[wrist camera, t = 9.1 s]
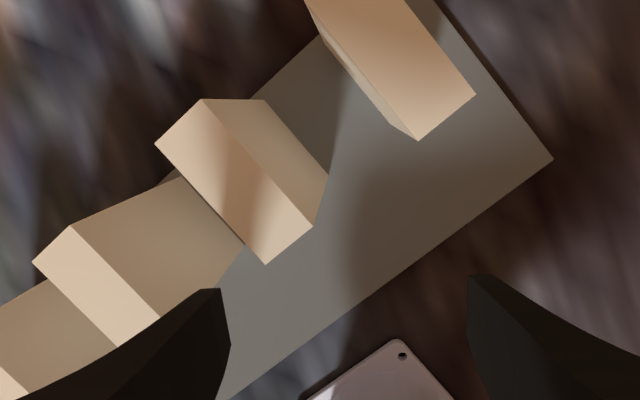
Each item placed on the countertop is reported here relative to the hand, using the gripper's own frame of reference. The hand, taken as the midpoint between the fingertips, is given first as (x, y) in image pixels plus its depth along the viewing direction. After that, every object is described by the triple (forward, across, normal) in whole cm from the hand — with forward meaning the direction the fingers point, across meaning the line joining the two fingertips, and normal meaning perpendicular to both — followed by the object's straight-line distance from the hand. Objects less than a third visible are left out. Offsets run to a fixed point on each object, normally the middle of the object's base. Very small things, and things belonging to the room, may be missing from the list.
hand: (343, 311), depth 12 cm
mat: (+10, +6, +4) cm, 13 cm away
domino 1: (+10, +13, +4) cm, 17 cm away
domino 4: (+11, -2, -6) cm, 13 cm away
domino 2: (+10, +8, +1) cm, 13 cm away
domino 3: (+10, +3, -3) cm, 11 cm away
